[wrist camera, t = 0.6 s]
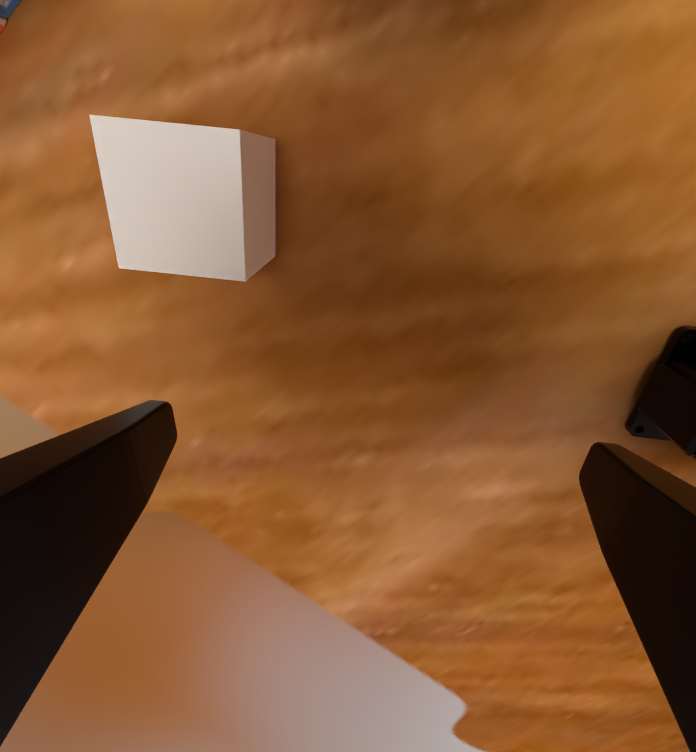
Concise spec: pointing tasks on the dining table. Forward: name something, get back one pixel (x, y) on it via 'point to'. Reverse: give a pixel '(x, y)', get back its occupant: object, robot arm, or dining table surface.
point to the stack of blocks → (6, 11)
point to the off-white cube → (188, 197)
